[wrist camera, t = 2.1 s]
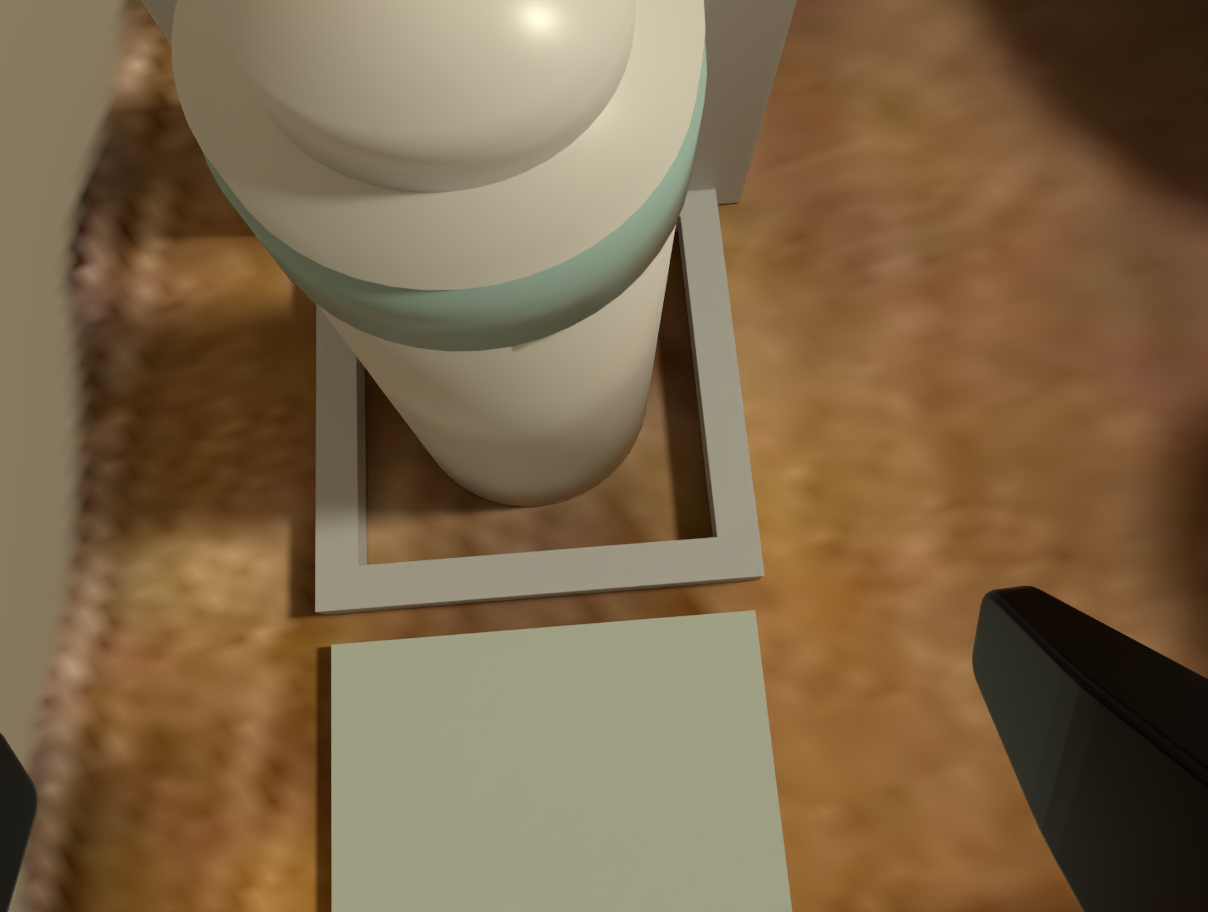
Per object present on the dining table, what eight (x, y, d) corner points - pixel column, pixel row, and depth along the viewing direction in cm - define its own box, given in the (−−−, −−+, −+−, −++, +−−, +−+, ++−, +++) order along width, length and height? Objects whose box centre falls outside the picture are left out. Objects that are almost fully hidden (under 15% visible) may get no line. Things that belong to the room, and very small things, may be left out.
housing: (789, 577, 21) (986, 466, 10) (294, 617, 21) (-38, 545, 10) (720, 62, 25) (811, -416, 14) (299, 90, 25) (62, -375, 14)
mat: (810, 1087, 18) (814, 1095, 18) (337, 1131, 18) (331, 1141, 18) (752, 611, 21) (755, 610, 21) (336, 645, 21) (331, 645, 20)
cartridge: (662, 500, 22) (762, 196, 8) (413, 520, 22) (93, 242, 8) (639, 274, 23) (692, -299, 10) (407, 290, 23) (131, -266, 10)
